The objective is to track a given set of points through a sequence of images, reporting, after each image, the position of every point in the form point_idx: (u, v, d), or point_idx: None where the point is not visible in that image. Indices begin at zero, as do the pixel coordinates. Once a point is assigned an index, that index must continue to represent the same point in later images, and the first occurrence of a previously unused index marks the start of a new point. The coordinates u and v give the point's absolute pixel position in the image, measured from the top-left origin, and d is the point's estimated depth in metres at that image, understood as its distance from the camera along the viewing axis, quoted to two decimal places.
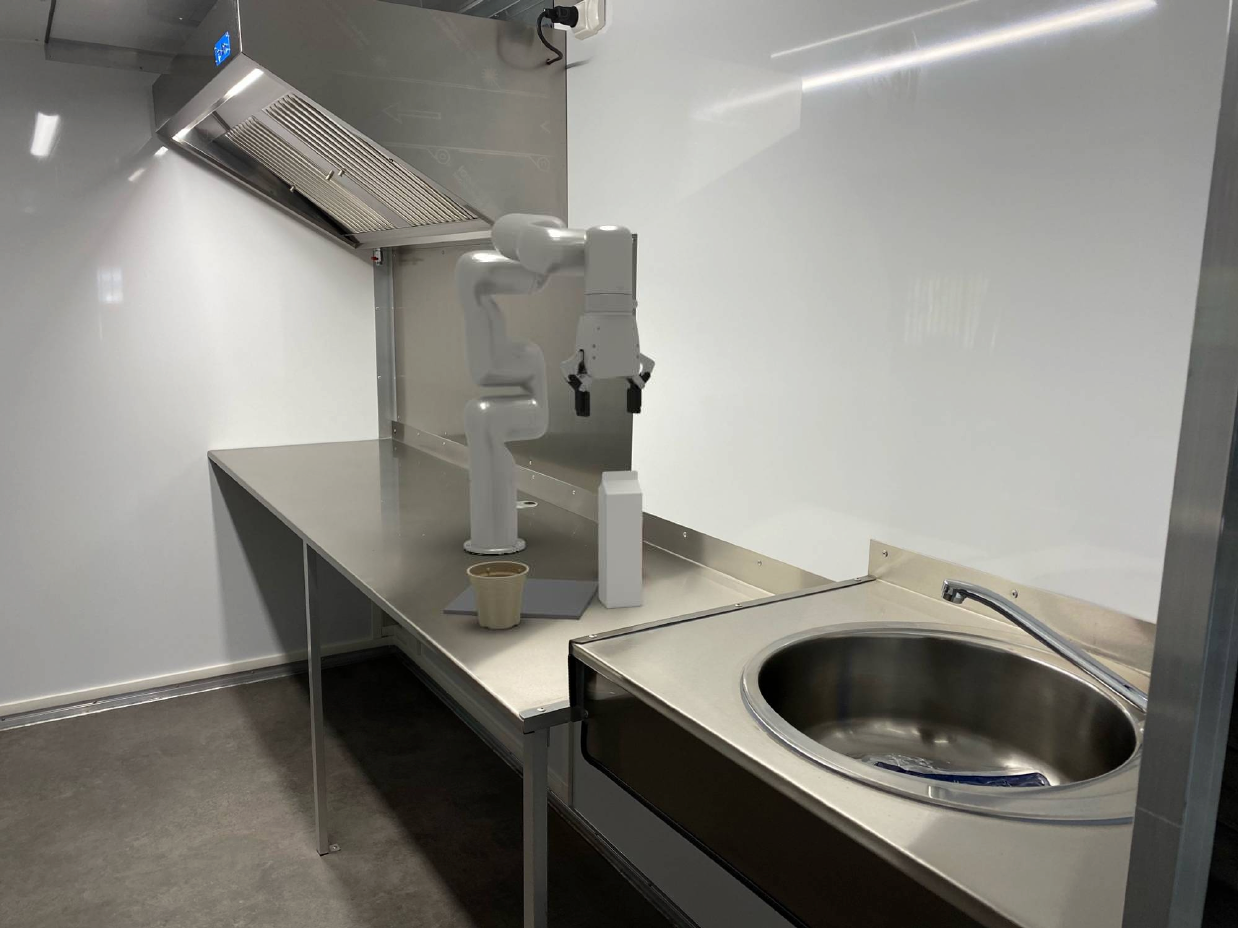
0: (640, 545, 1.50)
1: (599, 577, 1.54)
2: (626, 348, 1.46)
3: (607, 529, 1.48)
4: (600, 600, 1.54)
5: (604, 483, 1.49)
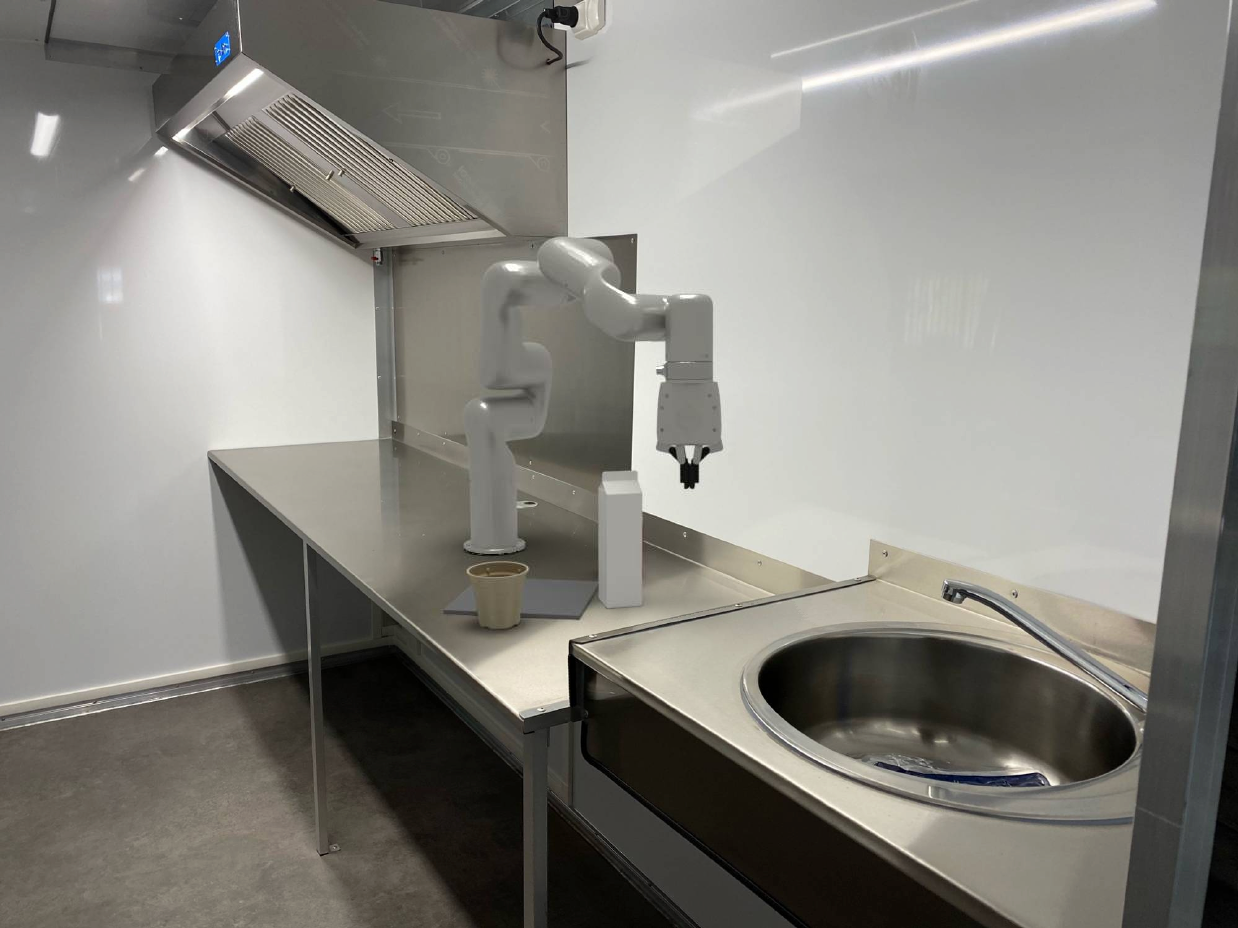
0: (640, 545, 1.50)
1: (599, 577, 1.54)
2: None
3: (607, 529, 1.48)
4: (600, 600, 1.54)
5: (604, 483, 1.49)
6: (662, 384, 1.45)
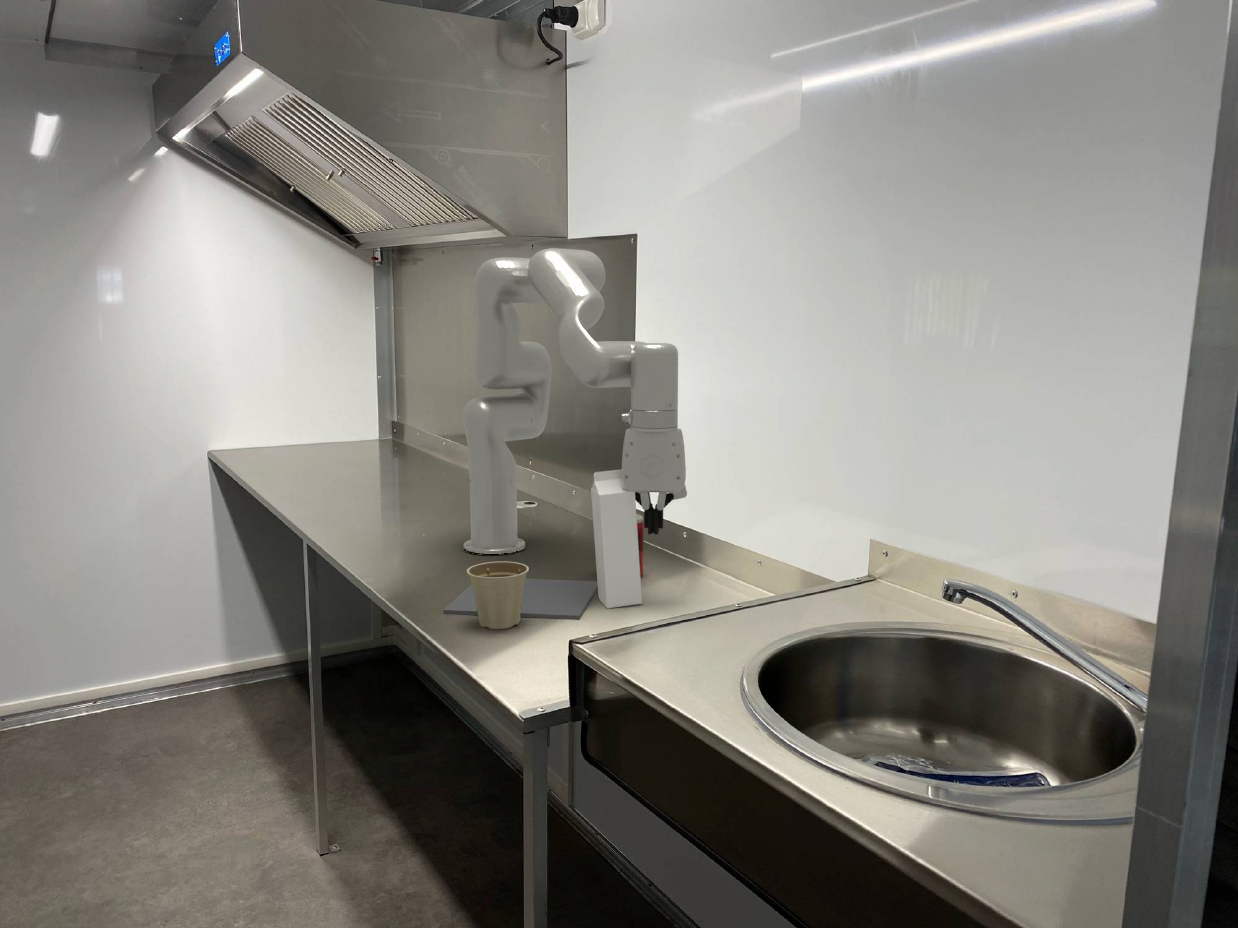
0: (636, 543, 1.50)
1: (598, 577, 1.54)
2: None
3: (602, 529, 1.48)
4: None
5: (596, 483, 1.49)
6: (627, 431, 1.47)
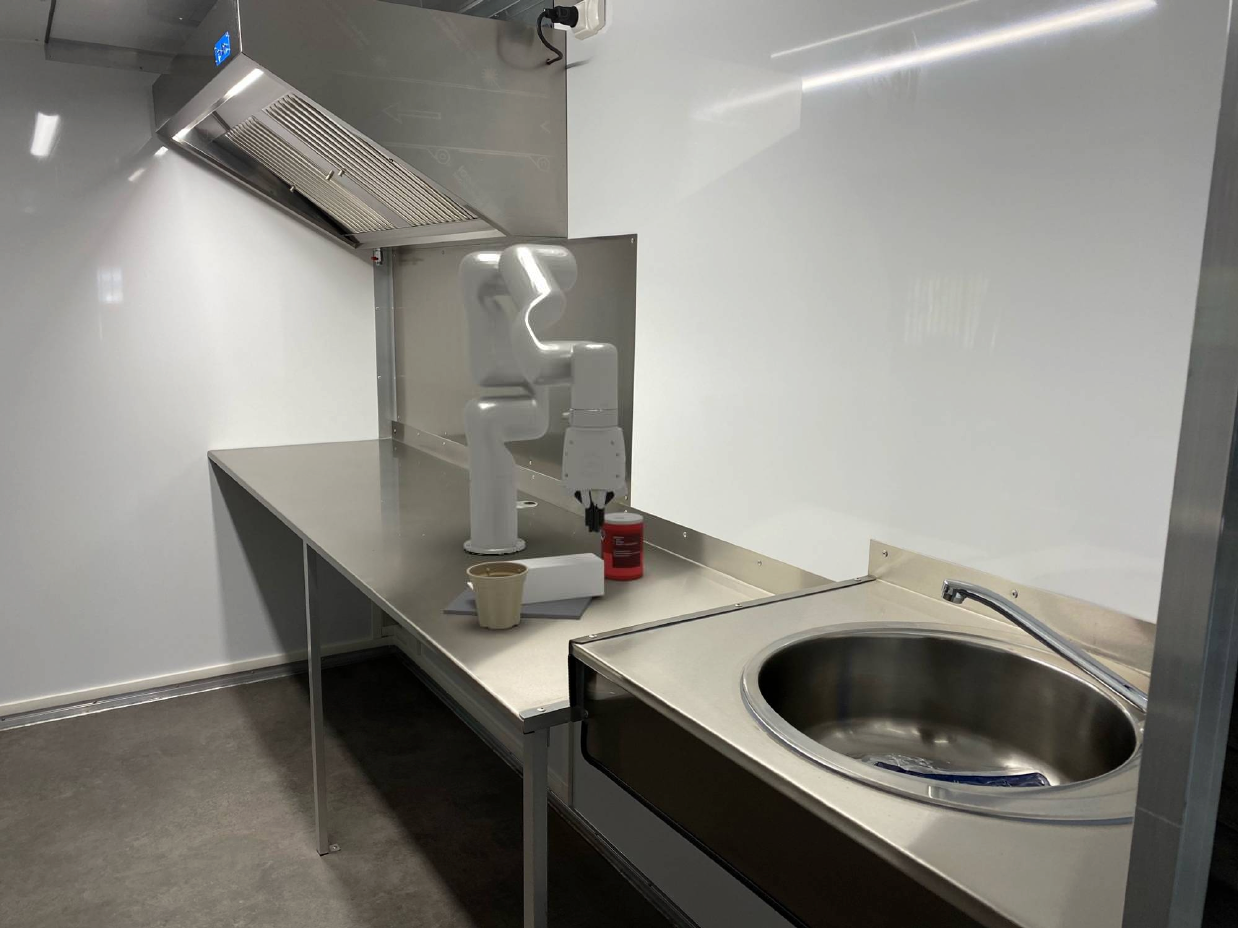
0: (535, 558, 1.56)
1: (582, 592, 1.54)
2: None
3: None
4: None
5: None
6: (567, 430, 1.48)
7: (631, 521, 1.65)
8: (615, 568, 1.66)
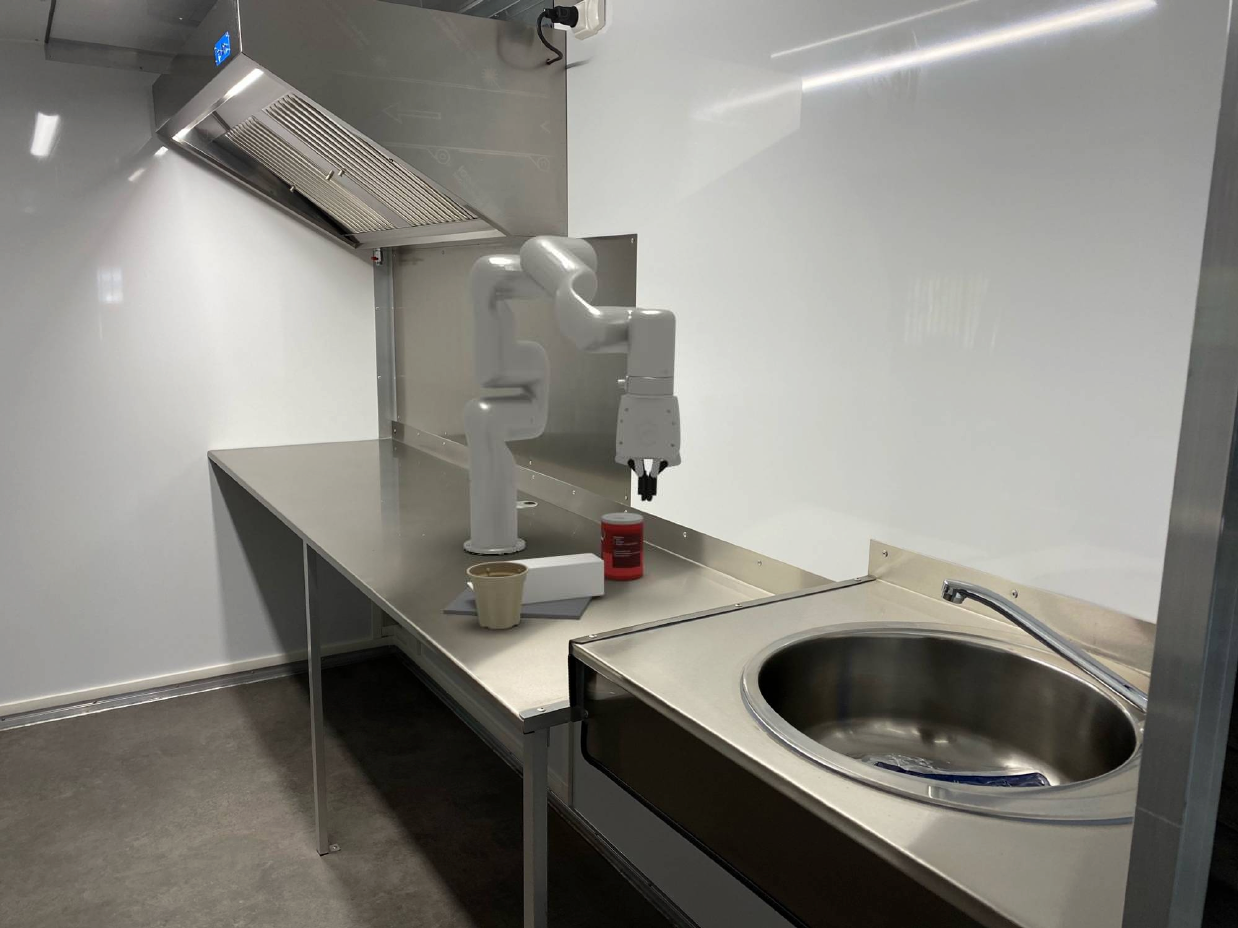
0: (535, 558, 1.56)
1: (582, 592, 1.54)
2: None
3: None
4: None
5: None
6: (622, 397, 1.47)
7: (631, 521, 1.65)
8: (615, 568, 1.66)
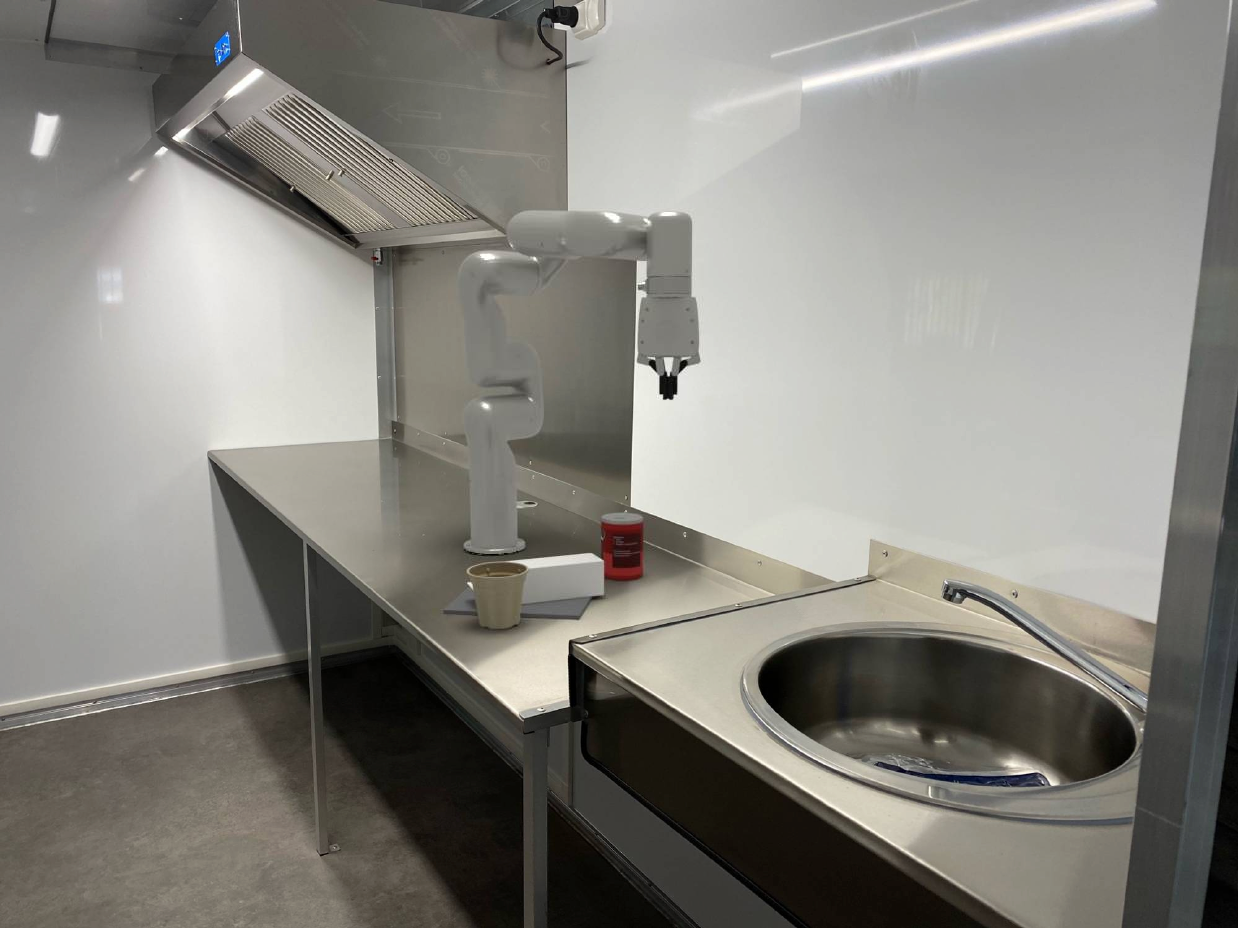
0: (535, 558, 1.56)
1: (582, 592, 1.54)
2: None
3: None
4: None
5: None
6: (643, 298, 1.53)
7: (631, 521, 1.65)
8: (615, 568, 1.66)
